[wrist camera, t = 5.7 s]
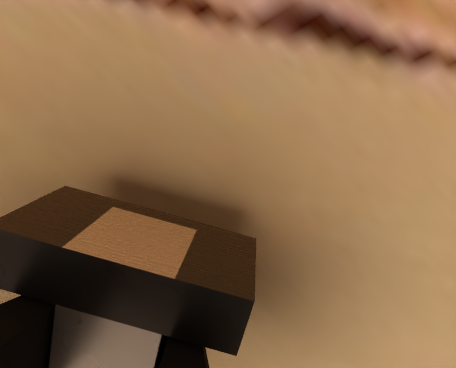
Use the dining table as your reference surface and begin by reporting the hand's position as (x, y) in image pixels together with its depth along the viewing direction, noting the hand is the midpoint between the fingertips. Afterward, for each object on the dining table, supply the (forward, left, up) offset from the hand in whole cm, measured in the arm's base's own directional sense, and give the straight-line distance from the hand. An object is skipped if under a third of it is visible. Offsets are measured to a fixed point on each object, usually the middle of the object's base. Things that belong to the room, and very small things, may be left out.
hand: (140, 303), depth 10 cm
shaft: (-4, -7, 0) cm, 8 cm away
